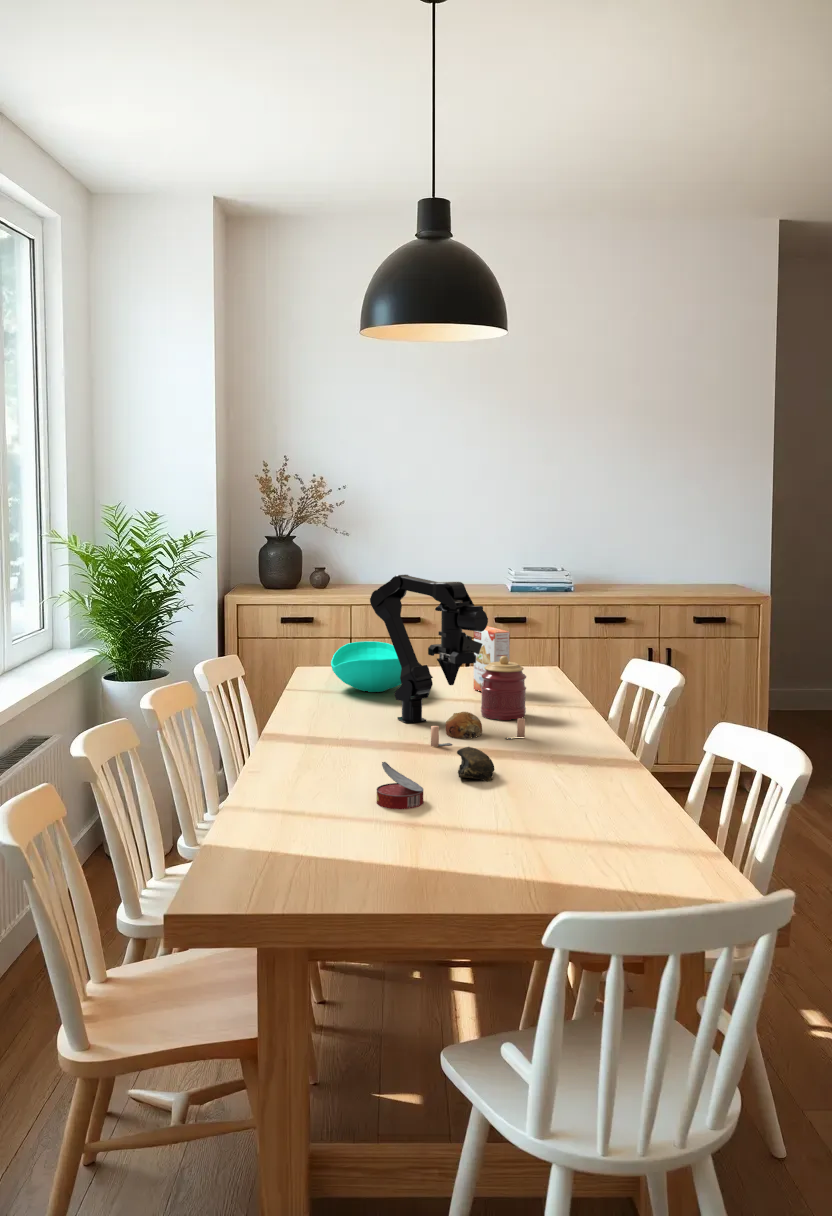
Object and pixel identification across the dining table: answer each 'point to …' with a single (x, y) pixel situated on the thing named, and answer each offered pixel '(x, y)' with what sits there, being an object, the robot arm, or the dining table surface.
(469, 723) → the bread roll
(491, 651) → the cracker box
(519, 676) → the canister
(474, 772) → the seashell
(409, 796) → the canned food
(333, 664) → the table top decor
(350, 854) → the dining table surface
